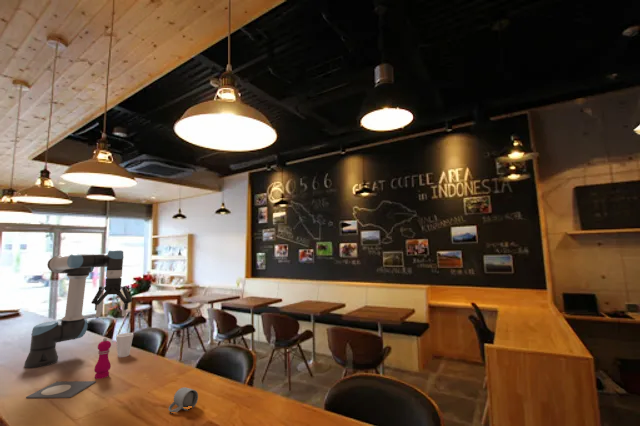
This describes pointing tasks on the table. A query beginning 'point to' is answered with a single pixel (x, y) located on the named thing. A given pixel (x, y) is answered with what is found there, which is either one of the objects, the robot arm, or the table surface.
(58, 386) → the mat
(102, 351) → the pepper mill
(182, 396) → the ceramic mug
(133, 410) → the table surface
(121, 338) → the foam cup
